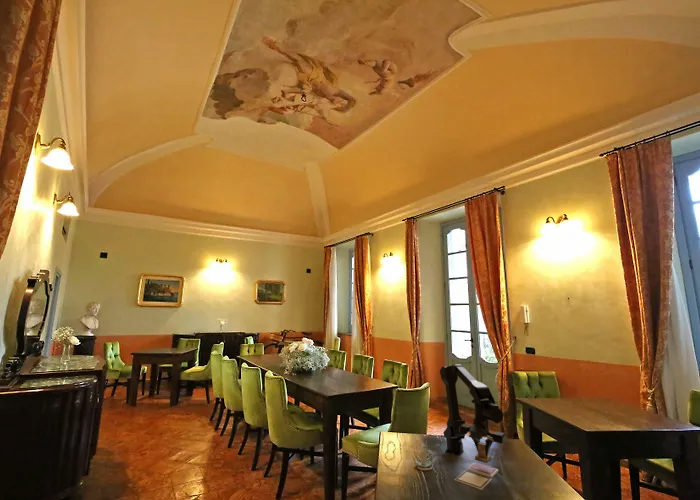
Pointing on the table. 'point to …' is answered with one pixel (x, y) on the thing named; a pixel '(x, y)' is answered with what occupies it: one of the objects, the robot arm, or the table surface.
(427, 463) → the pacifier
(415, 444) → the table surface
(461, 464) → the table surface
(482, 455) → the stamp
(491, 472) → the ink pad
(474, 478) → the marked card
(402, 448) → the table surface
